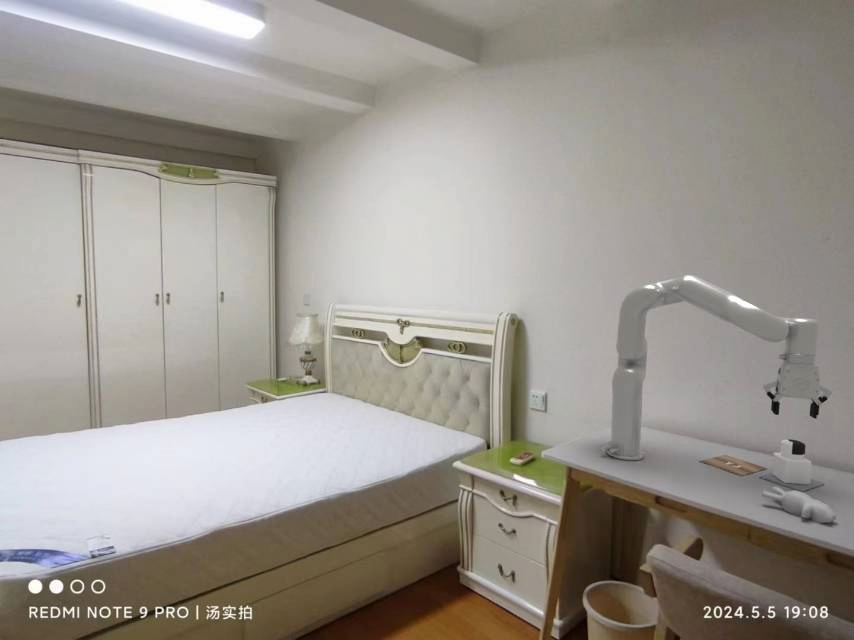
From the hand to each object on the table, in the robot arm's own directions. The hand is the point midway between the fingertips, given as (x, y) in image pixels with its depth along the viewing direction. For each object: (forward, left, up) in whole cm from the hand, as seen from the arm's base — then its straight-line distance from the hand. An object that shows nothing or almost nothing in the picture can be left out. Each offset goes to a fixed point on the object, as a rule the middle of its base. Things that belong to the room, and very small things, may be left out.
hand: (794, 415), depth 152 cm
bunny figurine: (-21, -13, -21) cm, 32 cm away
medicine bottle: (0, 0, -20) cm, 20 cm away
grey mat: (0, 0, -20) cm, 20 cm away
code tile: (-3, +16, -20) cm, 26 cm away
